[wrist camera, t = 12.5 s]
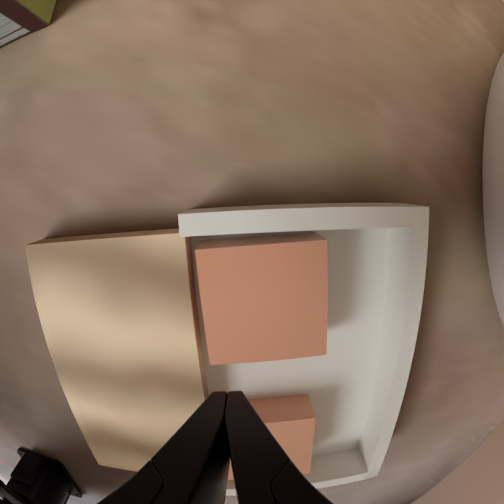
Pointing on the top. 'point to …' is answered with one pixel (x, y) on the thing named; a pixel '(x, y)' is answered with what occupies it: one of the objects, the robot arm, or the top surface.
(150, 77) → the top surface
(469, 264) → the top surface
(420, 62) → the top surface
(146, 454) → the oak board
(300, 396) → the tile
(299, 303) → the tile
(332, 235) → the tray
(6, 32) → the protein box
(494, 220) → the bowl
